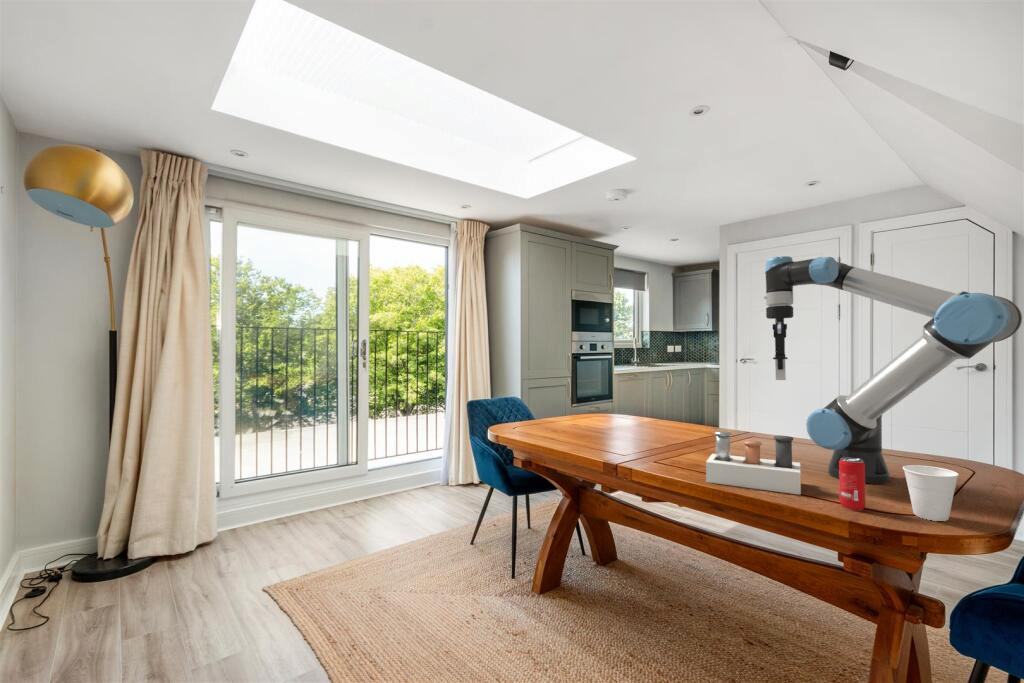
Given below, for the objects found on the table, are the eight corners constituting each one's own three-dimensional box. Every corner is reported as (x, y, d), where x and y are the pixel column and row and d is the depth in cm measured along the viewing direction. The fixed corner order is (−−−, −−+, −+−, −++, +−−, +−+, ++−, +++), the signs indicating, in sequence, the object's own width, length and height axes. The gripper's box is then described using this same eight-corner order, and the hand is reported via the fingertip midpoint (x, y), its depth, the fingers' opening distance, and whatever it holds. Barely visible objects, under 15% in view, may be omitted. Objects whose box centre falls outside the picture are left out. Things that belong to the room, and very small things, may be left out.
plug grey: (732, 463, 143) (732, 431, 143) (730, 466, 139) (730, 434, 139) (716, 461, 146) (715, 430, 146) (713, 464, 142) (713, 433, 142)
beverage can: (834, 504, 119) (834, 457, 119) (853, 503, 120) (852, 456, 120) (851, 511, 114) (850, 462, 114) (870, 510, 114) (870, 461, 114)
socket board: (800, 483, 137) (800, 462, 137) (800, 494, 127) (800, 472, 127) (712, 472, 150) (712, 453, 150) (706, 482, 139) (705, 461, 139)
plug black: (793, 469, 135) (793, 436, 135) (793, 473, 131) (793, 439, 131) (774, 467, 137) (774, 435, 137) (774, 471, 133) (773, 437, 133)
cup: (914, 522, 107) (913, 474, 107) (896, 507, 116) (895, 463, 116) (969, 527, 103) (968, 478, 103) (946, 512, 113) (945, 466, 113)
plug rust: (762, 473, 139) (762, 441, 139) (761, 477, 135) (760, 444, 135) (744, 471, 141) (744, 439, 141) (743, 475, 137) (742, 442, 137)
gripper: (767, 307, 157) (768, 378, 157) (764, 305, 146) (766, 381, 145) (793, 306, 153) (794, 378, 153) (792, 304, 142) (794, 381, 142)
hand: (780, 379), depth 149 cm, fingers closed
